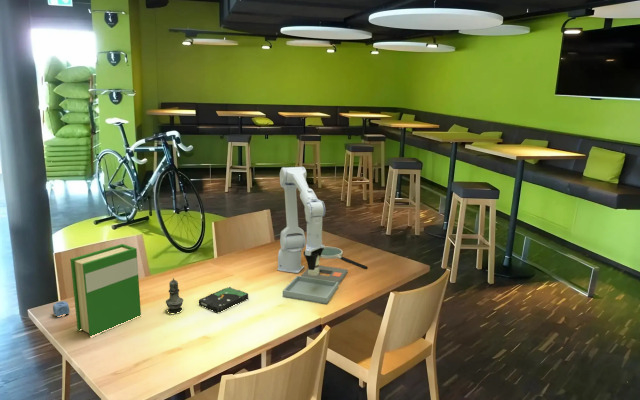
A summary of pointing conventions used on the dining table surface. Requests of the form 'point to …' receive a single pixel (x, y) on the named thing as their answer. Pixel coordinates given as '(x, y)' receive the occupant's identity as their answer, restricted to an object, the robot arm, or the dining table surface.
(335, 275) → the fuse holder
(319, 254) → the robot arm
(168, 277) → the dining table surface
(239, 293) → the disk drive
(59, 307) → the decorative dice
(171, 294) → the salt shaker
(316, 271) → the fuse
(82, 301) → the hardback book
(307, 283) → the parts tray
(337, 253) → the magnifying glass
